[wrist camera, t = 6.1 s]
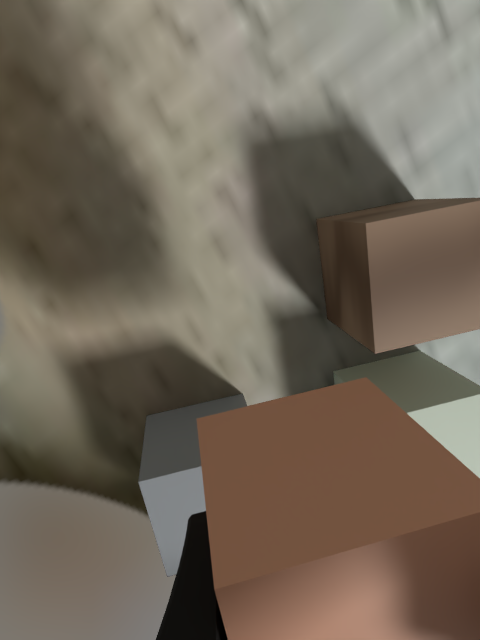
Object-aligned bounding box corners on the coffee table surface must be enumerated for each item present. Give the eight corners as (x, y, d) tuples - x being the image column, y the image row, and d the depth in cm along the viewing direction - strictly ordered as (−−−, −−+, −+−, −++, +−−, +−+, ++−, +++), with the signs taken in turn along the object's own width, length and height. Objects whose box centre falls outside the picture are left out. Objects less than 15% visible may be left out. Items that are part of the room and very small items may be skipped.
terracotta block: (377, 512, 13) (497, 694, 8) (229, 554, 12) (264, 775, 7) (366, 377, 11) (508, 503, 6) (196, 418, 11) (213, 589, 6)
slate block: (256, 470, 22) (280, 545, 17) (168, 493, 21) (167, 576, 16) (242, 392, 20) (263, 450, 15) (146, 415, 20) (138, 481, 15)
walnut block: (417, 297, 20) (491, 325, 15) (326, 318, 20) (375, 353, 15) (413, 199, 19) (495, 197, 14) (315, 218, 18) (365, 223, 13)
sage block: (421, 427, 23) (486, 485, 18) (341, 448, 22) (386, 514, 17) (418, 350, 21) (489, 391, 16) (332, 370, 21) (379, 419, 16)
